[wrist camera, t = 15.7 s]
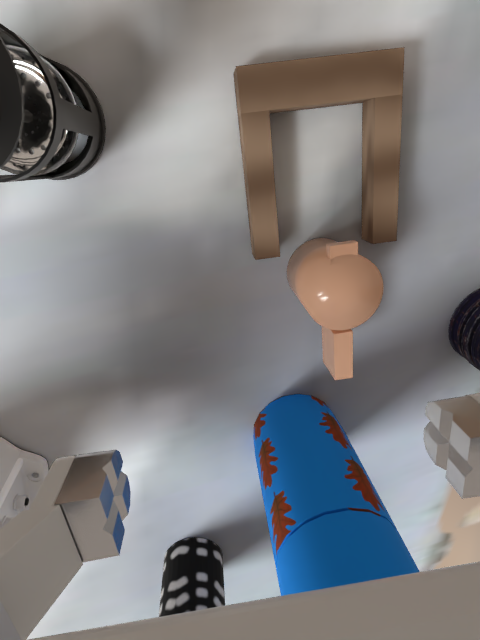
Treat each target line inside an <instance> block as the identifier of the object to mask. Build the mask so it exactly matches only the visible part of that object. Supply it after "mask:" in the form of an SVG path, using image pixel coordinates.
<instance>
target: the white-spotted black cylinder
mask: <svg viewBox="0 0 480 640" xmlns="http://www.w3.org/2000/svg"><path fill="white" fill-rule="evenodd" d="M220 606H225V596H224V577H223V558H222V552H221V549H220V548H219V547H218V545H217V544H215V543H214V542H212V541H210V540H208V539H204V538H188V539H184V540H181V541H178V542H177V543H175V544H173V545H172V546H171V547H170V548H169V549H168V550H167V552H166V554H165V558H164V568H163V579H162V589H161V600H160V610H159V617H162V616H168V615H173V614H179V613H185V612H191V611H196V610H202V609H208V608H214V607H220Z"/></svg>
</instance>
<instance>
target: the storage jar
mask: <svg viewBox="0 0 480 640" xmlns="http://www.w3.org/2000/svg"><path fill="white" fill-rule="evenodd" d="M449 340H450V343H451V345H452V347H453V348H454V350H455V351H456V352H457V353H459V354H460V355H461V356H463V357H464V358H466V359H467V360H468V361H469V363H471V364H472V365H473V366H474V367H476V368H477V369H479V370H480V289H478V290H476V291H474V292H473V293H471V294H470V295H468V296H467V297H466V298H465V299H464V300H463V301H462V302H461V303H460V304H459V306H458V307H457V308H456V310H455V312H454V313H453V315H452V318H451V320H450V324H449Z"/></svg>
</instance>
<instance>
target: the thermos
mask: <svg viewBox="0 0 480 640" xmlns="http://www.w3.org/2000/svg"><path fill="white" fill-rule="evenodd" d="M253 437H254V446H255V456H256V462H257V468H258V473H259V478H260V484H261V489H262V495H263V500H264V506H265V511H266V516H267V522H268V527H269V533H270V538H271V543H272V549H273V554H274V560H275V565H276V568H277V569H276V570H277V576H278V581H279V587H280V592H281V596H283V595H289V594H295V593H301V592H307V591H312V590H318V589H324V588H330V587H335V586H341V585H347V584H353V583H359V582H364V581H370V580H376V579H382V578H388V577H393V576H399V575H405V574H411V573H417V572H419V570H418V568H417V566H416V564H415V562H414V560H413V559H412V557H411V555H410V553H409V551H408V549H407V547H406V546H405V544H404V542H403V540H402V538H401V536H400V534H399V532H398V531H397V529H396V527H395V525H394V523H393V521H392V519H391V518H390V516H389V514H388V512H387V510H386V508H385V506H384V505H383V503H382V501H381V499H380V497H379V495H378V493H377V491H376V490H375V488H374V486H373V484H372V482H371V480H370V478H369V477H368V475H367V473H366V471H365V469H364V467H363V465H362V463H361V462H360V460H359V458H358V456H357V454H356V452H355V450H354V449H353V447H352V445H351V443H350V441H349V439H348V437H347V436H346V434H345V432H344V430H343V428H342V427H341V425H340V424H339V422H338V421H337V419H336V417H335V416H334V414H333V413H332V411H331V410H330V409H329V408H328V406H327V405H326V404H325V403H324V402H323V401H321V400H319V399H317V398H315V397H313V396H310V395H303V394H294V395H288V396H283V397H281V398H279V399H277V400H275V401H273V402H271V403H269V404H268V405H267V406H266V407H265V408H264V409H263V410H262V411H261V412H260V413H259V416H258V418H257V420H256V422H255V424H254V436H253Z"/></svg>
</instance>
